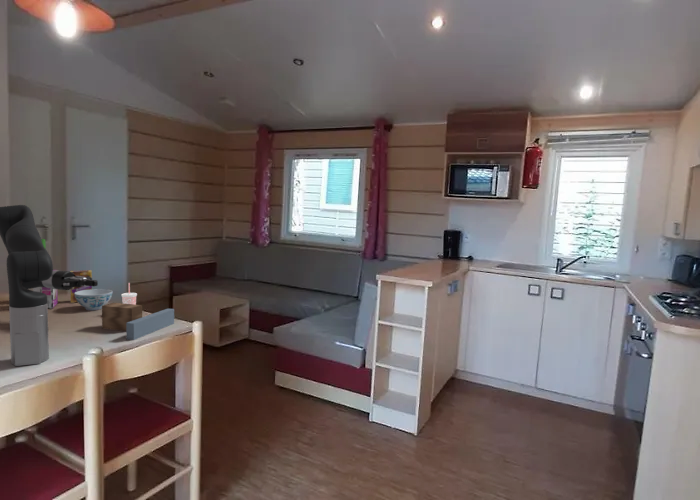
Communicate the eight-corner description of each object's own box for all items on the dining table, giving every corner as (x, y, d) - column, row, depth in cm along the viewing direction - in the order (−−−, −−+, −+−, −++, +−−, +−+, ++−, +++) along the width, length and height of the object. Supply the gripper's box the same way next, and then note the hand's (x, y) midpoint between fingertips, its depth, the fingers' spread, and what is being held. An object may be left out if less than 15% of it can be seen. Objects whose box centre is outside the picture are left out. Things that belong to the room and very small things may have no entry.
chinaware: (79, 305, 201) (78, 289, 200) (115, 304, 206) (115, 288, 205) (70, 313, 187) (70, 295, 186) (109, 311, 192) (109, 294, 191)
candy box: (70, 303, 205) (69, 271, 204) (70, 301, 209) (69, 270, 207) (92, 301, 210) (91, 270, 209) (91, 299, 214) (91, 269, 212)
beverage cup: (118, 314, 187) (117, 283, 186) (128, 311, 193) (128, 281, 192) (130, 316, 185) (129, 284, 184) (140, 313, 191) (140, 282, 190)
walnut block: (102, 328, 166) (101, 305, 165) (113, 324, 172) (113, 302, 171) (131, 331, 164) (131, 308, 163) (142, 327, 170) (142, 305, 169)
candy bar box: (53, 308, 193) (52, 272, 192) (40, 309, 191) (39, 273, 190) (58, 303, 204) (57, 269, 202) (45, 304, 201) (44, 269, 200)
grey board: (126, 339, 154) (126, 322, 153) (167, 322, 177) (167, 308, 177) (133, 340, 153) (133, 323, 153) (174, 323, 177) (174, 309, 176)
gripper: (43, 273, 165) (82, 276, 162) (72, 268, 178) (108, 271, 175) (44, 292, 166) (82, 296, 163) (72, 286, 179) (108, 289, 176)
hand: (96, 283), depth 169 cm, fingers closed
